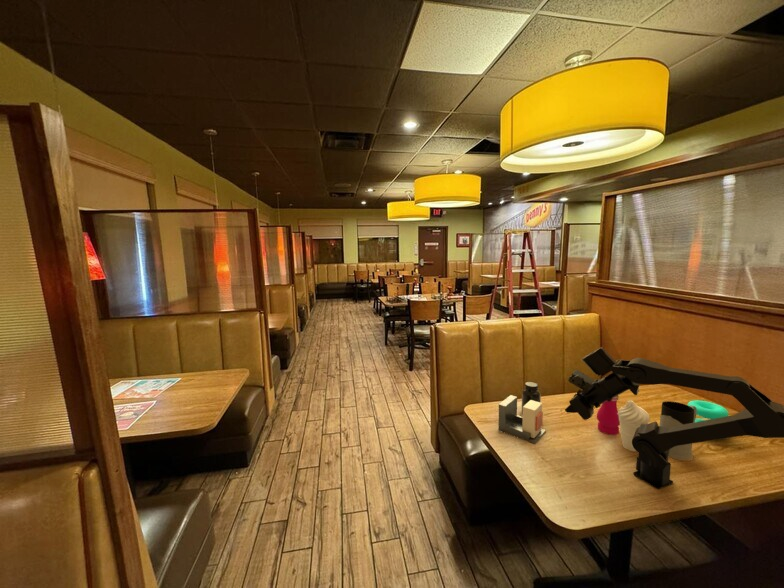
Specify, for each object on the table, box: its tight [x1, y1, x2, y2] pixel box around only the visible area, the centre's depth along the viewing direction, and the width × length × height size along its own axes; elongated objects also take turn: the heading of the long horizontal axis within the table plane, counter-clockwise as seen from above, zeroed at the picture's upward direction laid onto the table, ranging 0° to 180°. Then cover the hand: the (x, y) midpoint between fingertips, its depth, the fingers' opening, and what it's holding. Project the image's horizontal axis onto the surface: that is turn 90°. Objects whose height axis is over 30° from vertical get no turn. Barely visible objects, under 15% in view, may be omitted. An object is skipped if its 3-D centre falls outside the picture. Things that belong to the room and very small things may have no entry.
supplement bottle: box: [521, 381, 542, 413], centre depth 125 cm, size 7×7×12 cm
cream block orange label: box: [522, 400, 544, 438], centre depth 110 cm, size 5×7×10 cm, turn 136°
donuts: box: [687, 399, 730, 423], centre depth 108 cm, size 10×10×10 cm
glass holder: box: [659, 400, 697, 461], centre depth 99 cm, size 9×14×15 cm, turn 111°
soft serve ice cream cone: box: [617, 400, 651, 453], centre depth 101 cm, size 8×8×16 cm
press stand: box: [497, 394, 547, 445], centre depth 113 cm, size 13×10×10 cm
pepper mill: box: [596, 395, 620, 436], centre depth 111 cm, size 7×7×20 cm
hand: (566, 410), depth 102 cm, fingers closed
